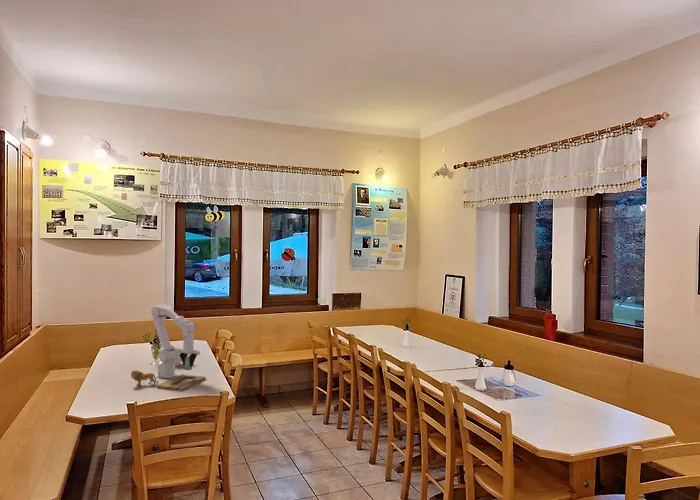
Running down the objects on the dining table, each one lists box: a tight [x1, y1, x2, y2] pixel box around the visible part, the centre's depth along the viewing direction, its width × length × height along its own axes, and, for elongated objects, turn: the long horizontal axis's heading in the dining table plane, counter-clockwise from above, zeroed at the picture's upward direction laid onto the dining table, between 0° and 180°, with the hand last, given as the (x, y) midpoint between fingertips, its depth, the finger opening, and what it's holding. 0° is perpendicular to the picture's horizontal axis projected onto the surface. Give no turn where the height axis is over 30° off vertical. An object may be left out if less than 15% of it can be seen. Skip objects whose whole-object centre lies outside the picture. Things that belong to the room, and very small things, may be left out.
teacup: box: [175, 347, 190, 367], centre depth 326 cm, size 12×15×10 cm
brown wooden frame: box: [156, 374, 206, 392], centre depth 285 cm, size 16×24×2 cm, turn 166°
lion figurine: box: [130, 369, 159, 387], centre depth 280 cm, size 15×5×9 cm, turn 118°
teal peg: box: [184, 356, 193, 371], centre depth 290 cm, size 4×4×7 cm
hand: (188, 366), depth 290 cm, fingers closed on teal peg, 4 cm apart
